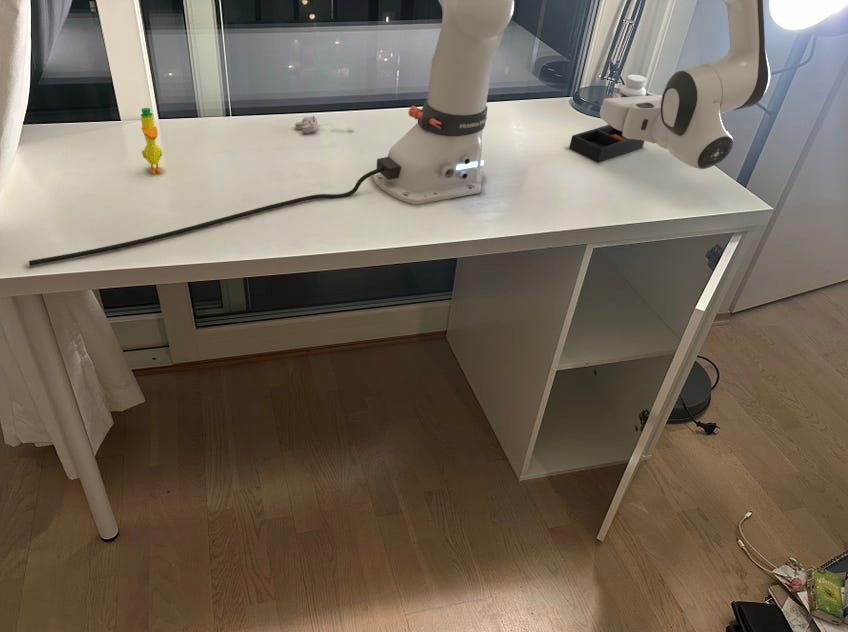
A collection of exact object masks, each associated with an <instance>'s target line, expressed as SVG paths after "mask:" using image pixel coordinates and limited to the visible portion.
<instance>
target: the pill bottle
mask: <svg viewBox="0 0 848 632" xmlns="http://www.w3.org/2000/svg"><path fill="white" fill-rule="evenodd" d="M647 82H648V81H647V78H646V77H645V76H643V75H639V74H628V75H627V77H626V79H625V84H623V85H622V86H621V87H620V89H619V92H618V93H621V94H623V95H624V97H636V96H645V95H646V91H647V90H646V88H644V87H645V86H646V84H647Z"/></svg>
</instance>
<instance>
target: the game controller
mask: <svg viewBox="0 0 848 632" xmlns="http://www.w3.org/2000/svg"><path fill="white" fill-rule="evenodd" d="M294 125H295V129H296V130H302V133H303V134H307V133H312V132H315V131H316V130H317V129H318V127H323V125H328V126H329V124H328V123H327V124H326V123H324V124H321V125H319V124H318V119H317V117H316V116H314V115H312V116H305V117H303V118H302V119H301V121H298V122H297V121H296V122H295V123H294ZM334 129H335V130H337V128H334ZM347 129H348V130H350V128H348V127H347Z"/></svg>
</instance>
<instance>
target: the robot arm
mask: <svg viewBox="0 0 848 632" xmlns="http://www.w3.org/2000/svg"><path fill="white" fill-rule="evenodd" d="M437 1H438V3H439V4H440V7H441V12H442V18H441V25H440V31H439V35H438V39H437V43H436V47H435V50H434V53H433V55H432V57H431V64H430V72H429V73H430V74H429V80H428V81H429V82H428V91H427V98H426V99H425V101H424V103H423V105H422V108H419V107H418V106H416V105H410V107H409V109H408V111H407V112H408V115H409V117H410V118H414V120H417V123H415V125H413V126H412V127H411V128H410V130H408V131H407V132H406V133H405V134H404V135H403V136H402V137H401V138H400V139H399V140H398V141H397V142H396V143H395V144H393V145H392V146H391V147H390V148H389V151H388V154H387V156H385V157H380V158H379V157H378V158H377V159H376V168H375V169H373V170H371V171H369V172H367V173H365V174H363V175H362V176H361V177H360V178H358V179H357V182H355V185H354V187H353V188H352V189H351V190H349V191H346V192H344V193H338V194H334V193H330V194H329V193H319V194H312V195H311V194H310V195H307V196H302V197H298V198H293V199H289V200H285V201H281V202H277V203H273V204H269V205H265V206H261V207H258V208H253V209H250V210H246V211H242V212H238V213H235V214H232V215H228V216H224V217H220V218H216V219H212V220H209V221H205V222H202V223H198V224H194V225H190V226H187V227H183V228H180V229H175V230H172V231H167V232H163V233H159V234H155V235H151V236H147V237H142V238H138V239H134V240H129V241H125V242H120V243H116V244H111V245H106V246H101V247H97V248H92V249H87V250H82V251H77V252H70V253H66V254H65V253H64V254H60V255H54V256H49V257H43V258H37V259H32V260H28V264H29V267H31V266H37V265H41V264H49V263H54V262H59V261H65V260H70V259H75V258H81V257H86V256H90V255H96V254H101V253H107V252H110V251H115V250H121V249H125V248H128V247H129V248H130V247H134V246H138V245H142V244H146V243H150V242H154V241H158V240H162V239H166V238H171V237H174V236H177V235H181V234H185V233H190V232H194V231H196V230H201V229H203V228H208V227H212V226H214V225H218V224H222V223H226V222H229V221H233V220H236V219H240V218H243V217H248V216H252V215H255V214H258V213H262V212H266V211H270V210H275V209H278V208H283V207H287V206H290V205H295V204H298V203H303V202H308V201H311V200H318V199H319V200H320V199H342V198H348V197H351V196H352V195H354V194H355V193H357V192H358V189H359V188H360V187H361V185H362V183H363V182H365V180H367V179H369V178H370V177H372V180H373V182H374V184H375V185H376V186H377V187H378V188H380V189H381V190H383V191H384V192H385V193H387V194H389V195H390V196H392V197H393V198H396V199H398V200H400V201H402V202H405V203H408V204H413V205H421V204H426V203H432V202H439V201H443V200H448V199H454V198H460V197H465V196H471V195H476V194H480V193H481V192H482V181H483V172H482V166H484V163H485V160H483V159H482V153H483V149H482V148H483V130H484V129H485V127H486V124H487V123H486V122H487V119H488V116H487V115H488V106H487V100H488V95H489V89H490V83H491V78H492V72H493V67H494V64H495V60H496V57H497V54H498V50H499V48H500V45H501V42H502V39H503V36H504V33H505V30H506V28H507V26H508V25H509V23H510V22H511V20H512V17H513V15H514V10H515V0H437ZM723 1H724V3H725V5H726V10H727V19H728V22H727V23H728V34H729V50H728V52H727V53H726V54H725V55H724V56H723V57H720V58H716V59H713V60H711V61H707V62H704V63H699V64H697V65H694V66H690V67H687V68H685V69H681V70H679V71H676V72H675V73H673V75H671V76H670V78H669V79H668V81H667V83H666V85H665V88H664V90H663V93H662V94H655V93H651V92H649V91H648V90H646V95H645V96H636V97H624V95H623V94H621V93H619V92H614V93H612V97H605V98H604V99H603V100H602V103H601V106H600V109H599V117H600V118H601V120H603V121H604V122H605V123H606V124H607V125H610V126H612V127H613V128H615V129H617V130H619V131H623V132H622V136H623V137H625V138H627V139H635V140H643V141H644V142H648V143H650V144H656V145H657V146H659V147H660V148H663V149H665V150H668V152H669V153H670V154H671V155H672V156H673V157H674V158H676V159H677V160H679V161H680V162H682V163H684V164H685V165H687V166H689V167H691V168H695V169H697V170H698V169H699V170H705V169H709V168H711V167H714V166H716V165H718V164H720V163H721V162H722V161H724V160H725V159H726V157H727V156H728V155H729V154H730V153H731V151H732V149H733V146H734V139H733V137H732V135H731V134H730V132H728V131H727V129H725V127H724V124H723V121H722V118H721V114H725V113H728V112H731V111H737V110H741V109H746V108H751V107H754V106H755V105H757V104H758V103H759V102H760V101H761V100H762V98H763V97H764V95H765V94H766V92H767V90H768V88H769V85H770V82H771V68H770V64H769V60H768V56H767V55H768V54H767V51H766V39H765V38H766V37H765V36H766V35H765V15H764V0H723Z"/></svg>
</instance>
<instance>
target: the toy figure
mask: <svg viewBox="0 0 848 632" xmlns="http://www.w3.org/2000/svg"><path fill="white" fill-rule="evenodd" d="M140 110H141V114H140V119H141V131H142V133H143V136H144V139H145V142H146V145H145V146H144V149H143V150H141V154H142V157H143V158H144V159H145V160H146V161H147V162H148V164H150V174H151V175H156V173H157V174H159V175H160V174H162V169H161V167H160V166H159V162H160V161H161V158H162V156H163V151H162V148H161V147H160V146H158V145H157V143H156V139H157V137H158V133H159V132H158V131H159V130H158V128H157V126H156V125H155V121H154V115H153V114H154V113H152V112H151V108H150V107H143V108H141V109H140ZM154 165H155V167H154Z"/></svg>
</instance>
